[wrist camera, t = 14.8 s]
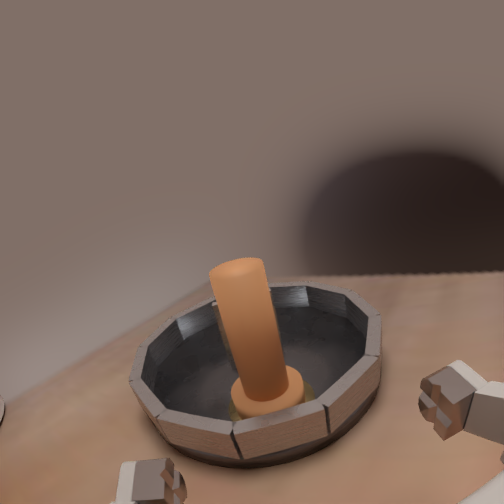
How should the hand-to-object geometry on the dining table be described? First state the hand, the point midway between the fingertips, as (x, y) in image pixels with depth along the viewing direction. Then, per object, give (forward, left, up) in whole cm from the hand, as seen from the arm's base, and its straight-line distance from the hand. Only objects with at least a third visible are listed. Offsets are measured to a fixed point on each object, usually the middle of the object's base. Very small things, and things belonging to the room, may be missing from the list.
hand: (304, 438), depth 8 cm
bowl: (0, +16, -9) cm, 19 cm away
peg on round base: (0, +10, -8) cm, 13 cm away
